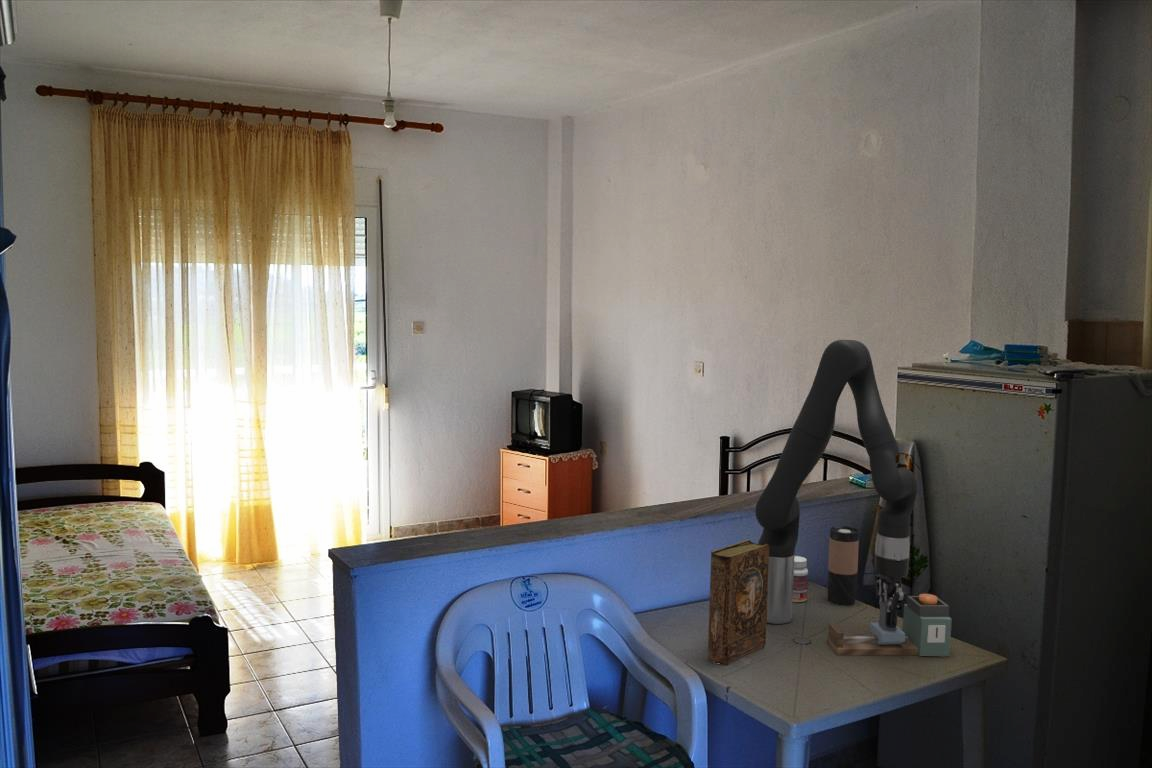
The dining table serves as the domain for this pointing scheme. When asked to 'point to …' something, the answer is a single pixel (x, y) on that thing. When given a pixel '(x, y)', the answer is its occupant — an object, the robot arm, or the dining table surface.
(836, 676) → the dining table surface
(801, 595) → the pill bottle
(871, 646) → the rail stand
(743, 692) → the dining table surface
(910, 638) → the cabinet
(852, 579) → the travel mug
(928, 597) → the button
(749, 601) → the book
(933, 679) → the dining table surface
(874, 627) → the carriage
